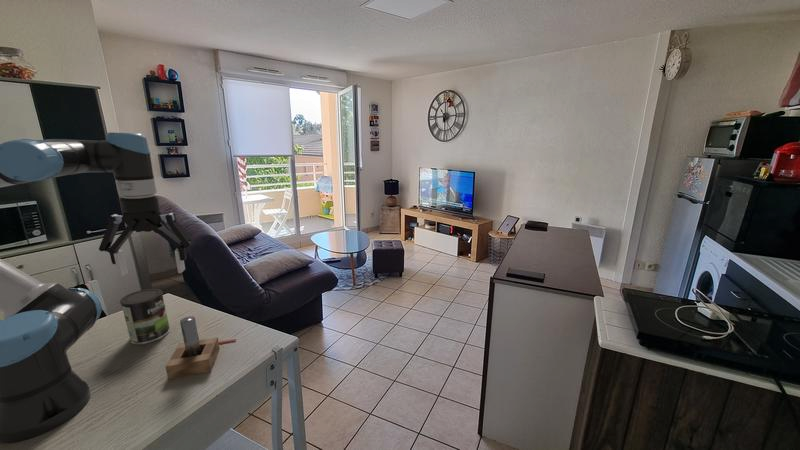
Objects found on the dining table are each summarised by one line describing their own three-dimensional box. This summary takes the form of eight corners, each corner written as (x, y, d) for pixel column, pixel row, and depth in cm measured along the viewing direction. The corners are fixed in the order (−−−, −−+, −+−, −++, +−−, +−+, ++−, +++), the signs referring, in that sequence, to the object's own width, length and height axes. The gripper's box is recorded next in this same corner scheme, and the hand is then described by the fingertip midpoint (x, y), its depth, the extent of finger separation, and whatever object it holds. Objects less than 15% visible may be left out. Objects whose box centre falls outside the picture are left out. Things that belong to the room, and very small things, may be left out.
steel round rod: (186, 368, 86) (177, 324, 82) (190, 360, 89) (182, 317, 85) (200, 365, 87) (192, 322, 83) (204, 357, 90) (196, 315, 86)
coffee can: (177, 325, 105) (170, 288, 101) (153, 345, 95) (144, 304, 91) (148, 325, 105) (139, 287, 101) (121, 344, 95) (110, 303, 91)
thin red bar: (184, 349, 93) (184, 348, 93) (185, 347, 94) (185, 346, 94) (235, 341, 97) (235, 340, 97) (236, 339, 98) (236, 338, 98)
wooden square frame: (168, 379, 82) (165, 366, 81) (181, 354, 91) (179, 343, 90) (210, 371, 85) (208, 359, 83) (219, 348, 94) (217, 337, 93)
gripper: (66, 199, 71) (87, 282, 77) (188, 197, 78) (199, 275, 83) (89, 193, 78) (107, 270, 84) (199, 193, 85) (209, 264, 90)
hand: (153, 273), depth 83 cm, fingers open, 13 cm apart
